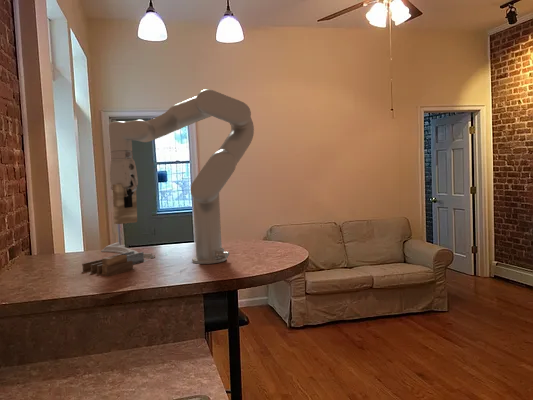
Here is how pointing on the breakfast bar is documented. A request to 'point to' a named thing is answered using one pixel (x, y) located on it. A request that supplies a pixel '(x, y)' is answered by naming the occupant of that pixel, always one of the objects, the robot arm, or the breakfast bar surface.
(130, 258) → the stand
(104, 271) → the offcut bottom
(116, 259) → the offcut top
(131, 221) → the beige wooden block
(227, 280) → the breakfast bar surface
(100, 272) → the rack
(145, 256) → the molding
